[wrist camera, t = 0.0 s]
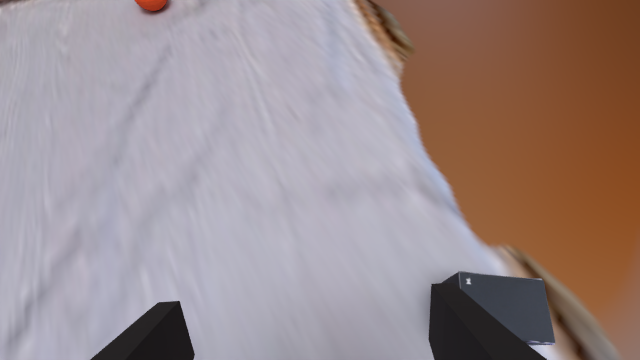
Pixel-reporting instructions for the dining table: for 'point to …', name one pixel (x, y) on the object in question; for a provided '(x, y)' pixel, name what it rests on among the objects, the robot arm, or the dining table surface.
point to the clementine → (151, 4)
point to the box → (511, 303)
